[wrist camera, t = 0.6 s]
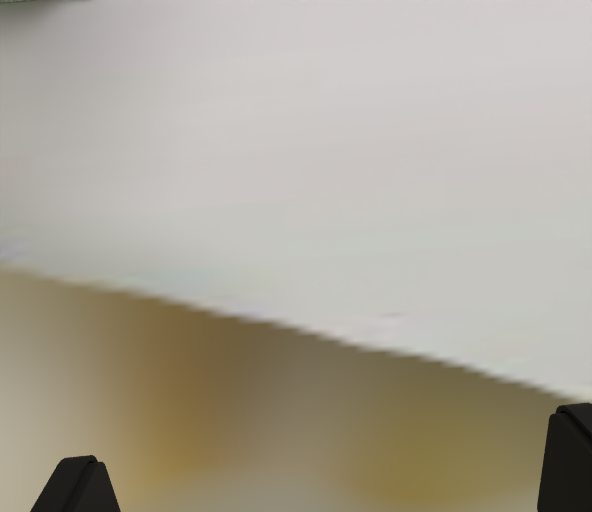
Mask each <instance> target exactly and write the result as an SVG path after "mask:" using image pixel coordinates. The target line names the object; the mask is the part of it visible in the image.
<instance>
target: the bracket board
mask: <svg viewBox="0 0 592 512" xmlns="http://www.w3.org/2000/svg"><path fill="white" fill-rule="evenodd" d="M17 1H29V0H0V3H4V2H17Z"/></svg>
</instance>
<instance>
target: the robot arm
mask: <svg viewBox="0 0 592 512" xmlns="http://www.w3.org/2000/svg"><path fill="white" fill-rule="evenodd" d="M537 510H538V512H592V404H590V403H580V404H571V405H562V406H559V407H558V408H557V410H556V413H555V414H552V415H551V416H550V418H549V424H548V431H547V439H546V446H545V454H544V460H543V467H542V475H541V483H540V489H539V497H538V504H537ZM30 512H121V511H120V508H119V505H118V502H117V499H116V496H115V493H114V490H113V487H112V484H111V481H110V478H109V475H108V472H107V469H106V466H105V464H104V463H103V462H98V461H97V459H96V457H95V456H93V455H89V456H79V457H70V458H64V459H63V460H61V461H60V462H59V464H58V465H57V467H56V469H55V470H54V472H53V474H52V475H51V477H50V479H49V480H48V482H47V484H46V486H45V487H44V489H43V491H42V492H41V494H40V496H39V498H38V499H37V501H36V503H35V504H34V506H33V508H32V509H31V511H30Z"/></svg>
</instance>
